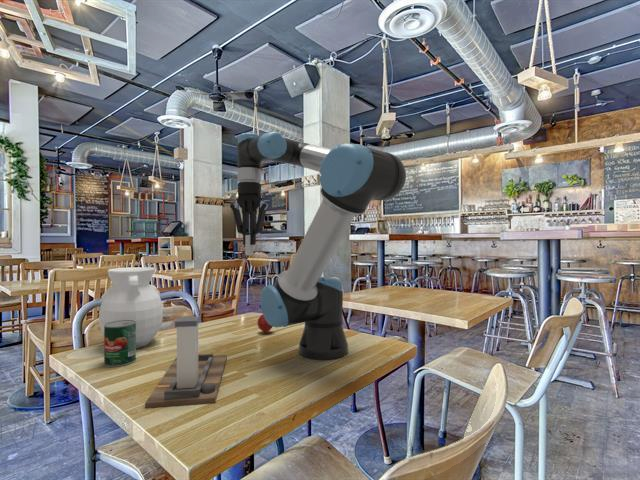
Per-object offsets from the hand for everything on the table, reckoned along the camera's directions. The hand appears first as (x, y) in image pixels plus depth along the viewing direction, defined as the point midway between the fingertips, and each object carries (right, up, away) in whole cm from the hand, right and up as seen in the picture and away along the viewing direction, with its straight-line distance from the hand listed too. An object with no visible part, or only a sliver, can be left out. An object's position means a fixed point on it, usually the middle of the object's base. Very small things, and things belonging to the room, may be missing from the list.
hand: (249, 255), depth 116 cm
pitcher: (-38, -30, 0) cm, 48 cm away
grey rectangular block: (-8, -29, -34) cm, 45 cm away
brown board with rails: (-9, -30, -27) cm, 41 cm away
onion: (+3, -30, +15) cm, 33 cm away
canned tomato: (-33, -30, -16) cm, 47 cm away
